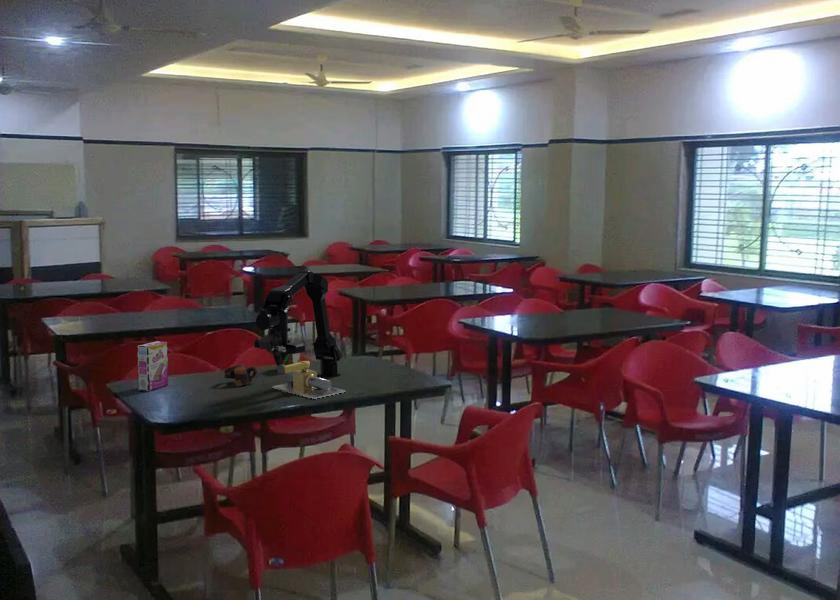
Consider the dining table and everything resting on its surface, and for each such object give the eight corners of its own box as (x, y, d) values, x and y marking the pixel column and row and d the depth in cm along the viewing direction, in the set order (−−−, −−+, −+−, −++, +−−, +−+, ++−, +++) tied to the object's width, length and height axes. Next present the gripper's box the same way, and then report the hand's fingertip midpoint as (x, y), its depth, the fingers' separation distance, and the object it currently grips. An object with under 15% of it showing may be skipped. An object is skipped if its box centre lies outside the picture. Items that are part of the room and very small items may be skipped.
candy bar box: (149, 392, 302) (147, 346, 300) (138, 390, 304) (136, 345, 301) (169, 385, 312) (167, 341, 310) (158, 384, 314) (156, 340, 312)
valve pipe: (272, 388, 306) (271, 366, 305) (303, 382, 316) (302, 360, 315) (314, 399, 290) (313, 376, 289) (345, 392, 300) (345, 370, 299)
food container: (286, 365, 346) (285, 341, 345) (301, 365, 346) (300, 341, 344) (277, 371, 334) (276, 346, 333) (292, 372, 333) (291, 347, 332)
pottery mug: (229, 389, 307) (221, 368, 309) (229, 395, 316) (222, 375, 318) (261, 378, 311) (253, 358, 313) (260, 384, 320) (253, 364, 322)
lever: (304, 366, 306) (304, 358, 305) (311, 367, 304) (311, 359, 303) (275, 373, 294) (274, 365, 294) (282, 374, 292) (282, 366, 292)
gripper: (243, 325, 292) (243, 370, 294) (284, 332, 282) (284, 378, 285) (265, 321, 301) (265, 364, 304) (306, 327, 292) (305, 372, 294)
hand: (279, 369), depth 296 cm, fingers closed
